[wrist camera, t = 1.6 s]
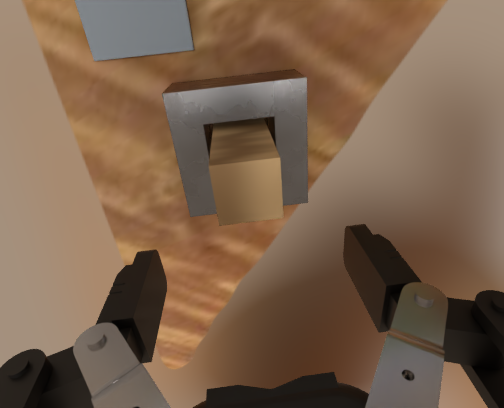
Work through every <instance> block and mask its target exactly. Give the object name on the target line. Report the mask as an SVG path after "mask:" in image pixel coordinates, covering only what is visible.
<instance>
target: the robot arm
mask: <svg viewBox="0 0 504 408" xmlns="http://www.w3.org/2000/svg"><path fill="white" fill-rule="evenodd" d="M343 257H344V264H345V267H346V270H347V272H348V274H349V276H350V277H351V279H352V281H353V283H354V285H355V287H356V289H357V291H358V293H359V295H360V297H361V299H362V301H363V302H364V305H365V307H366V309H367V311H368V313H369V315H370V316H371V318H372V320H373V322H374V324H375V326H376V328H377V330H378V332H386V331H388V334H387V337H386V340H385V344H384V347H383V350H382V353H381V357H380V360H379V363H378V367H377V370H376V373H375V377H374V380H373V383H372V386H371V390H370V393H369V394H368V393H366V392H364V391H362V390H360V389H359V388H356V387H354V386H351V385H347V384H343V383H338V382H337V380H336V377H335V374H334V372H330V373H323V374H316V375H308V376H302V377H300V378H298V379H295V380H293V381H291V382H288V383H286V384H283V385H281V386H279V387H276V388H274V389H264V388H257V387H250V386H242V385H235V386H227V387H220V388H214V389H207V398H206V401H204V402H201V403H200V404H198V405H196V406H195V407H193V408H438V405H439V397H440V389H441V380H442V372H443V363H444V361H446V362H452V363H458V364H460V365H461V366H462V367H463V369H464V371H465V372H466V374H467V375H468V377H469V379H470V380H471V382H472V383H473V385H474V386H475V388H476V390H477V391H478V393H479V394H480V396H481V397H482V399H483V401H484V402H485V404H486V405H487V407H488V408H504V293H503V292H499V291H494V290H486V291H482V292H480V293H478V294H477V295H476V298H475V301H470V300H462V299H454V298H448V297H446V296H445V294H444V293H442V291H440V290H439V289H437V288H436V287H434V286H432V285H429V284H426V283H422V282H421V281H420V279H419V278H418V277H417V275H416V274H415V273H414V272H413V270H412V269H411V268H410V266H409V265H408V264H407V263H406V261H405V260H404V259H403V258H402V257H401V255H400V254H399V252H398V251H396V249H395V247H394V246H393V245H392V244H391V242H390V241H389V240H387V239H386V238H384V237H382V236H381V235H379V234H376V235H373V234H372V233H371V232H370V230H369V229H368V228H367V226H366V225H365V224H361V225H353V226H346V228H345V238H344V252H343ZM166 292H167V280H166V276H165V272H164V269H163V266H162V263H161V259H160V256H159V253H158V251H157V250H149V251H141V252H137V254H136V257H135V259H134V262H133V264H132V265H126V266H125V267H124V268H123V269H122V270H121V271H120V272H119V273H118V275H117V276H116V279H115V281H114V283H113V287H112V288H111V290H110V294H109V295H108V297H107V300H106V302H105V304H104V306H103V309H102V311H101V313H100V316H99V318H98V320H97V323H96V325H95V326H92V327H90V328H89V329H87V330H86V331H84V332H83V333H82V334H81V335H80V336H79V337H78V339H77V340H76V342H75V344H74V346H72V347H70V348H68V349H65V350H63V351H60V352H58V353H55V354H53V355H50V356H47V357H46V355H45V354H44V352H43V351H41V350H39V349H30V350H26V351H24V352H21V353H19V354H17V355H15V356H14V357H12V358H11V359H9V360H8V361H7V362H6V363H5V364H4V365H3V366H2V367H1V368H0V408H171V407H170V406H169V404H168V403H167V401H166V400H165V398H164V397H163V395H162V393H161V392H160V390H159V389H158V387H157V385H156V384H155V382H154V381H153V379H152V378H151V376H150V375H149V373H148V371H147V370H146V368H145V367H144V365H143V364H142V363H147V362H151V361H152V357H153V353H154V348H155V343H156V339H157V334H158V329H159V325H160V320H161V315H162V311H163V306H164V301H165V297H166Z"/></svg>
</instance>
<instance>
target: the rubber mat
mask: <svg viewBox="0 0 504 408" xmlns="http://www.w3.org/2000/svg"><path fill="white" fill-rule="evenodd" d="M75 2H76V5H77V9H78V12H79V15H80V18H81V21H82V24H83V27H84V30H85V34H86V37H87V40H88V43H89V46H90V49H91V52H92V55H93V58H94V61H100V60H109V59H118V58H126V57H135V56H144V55H153V54H162V53H171V52H180V51H188V50H194V45H193V39H192V33H191V27H190V22H189V16H188V10H187V4H186V0H75Z"/></svg>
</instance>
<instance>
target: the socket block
mask: <svg viewBox="0 0 504 408" xmlns="http://www.w3.org/2000/svg"><path fill="white" fill-rule="evenodd" d="M162 96H163V101H164V105H165V109H166V114H167V118H168V122H169V126H170V131H171V135H172V139H173V144H174V148H175V152H176V157H177V161H178V165H179V169H180V174H181V178H182V182H183V187H184V191H185V195H186V200H187V204H188V208H189V212H190V217H194V216H202V215H210V214H217V210H216V205H215V199H214V194H213V188H212V183H211V177H210V172H209V158H210V149H211V135H210V129H209V124H212V123H221V122H229V121H238V120H246V119H255V118H263V117H268V122H269V132H270V134H271V137H272V139H273V141H274V144H275V146H276V148H277V151H278V153H279V156H280V161H281V180H282V198H283V206H284V205H292V204H301V203H308V159H307V77H306V76H304V75H303V74H301V73H299V72H298V71H296V70H295V69H293V70H285V71H276V72H267V73H258V74H250V75H241V76H232V77H224V78H215V79H206V80H197V81H189V82H180V83H172V84H171V85H170V86H169V87H168V88H167V89H166V90H165V91H164V92H163V93H162Z"/></svg>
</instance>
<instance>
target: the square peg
mask: <svg viewBox="0 0 504 408" xmlns="http://www.w3.org/2000/svg"><path fill="white" fill-rule="evenodd" d="M209 172H210V177H211V183H212V188H213V194H214V199H215V205H216V210H217V216H218V221H219V226H222V225H230V224H238V223H246V222H254V221H263V220H271V219H279V218H284V217H283V198H282V180H281V161H280V156H279V153H278V151H277V148H276V146H275V144H274V141H273V139H272V137H271V134H270V132H269V129H268V127H267V125H266V122H265V120H264V117H263V118H255V119H246V120H238V121H229V122H221V123H214V125H213V133H212V141H211V149H210V158H209Z"/></svg>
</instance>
